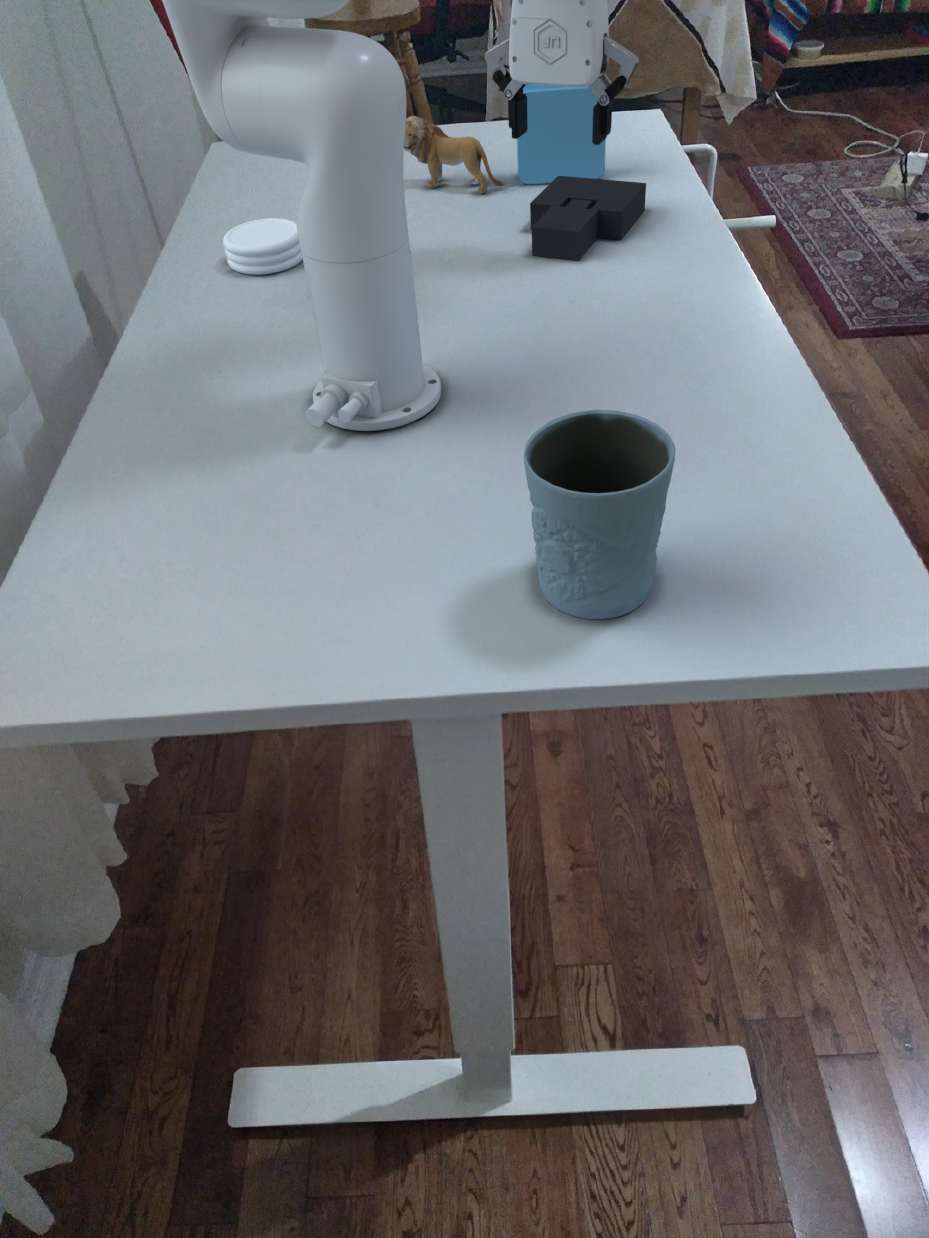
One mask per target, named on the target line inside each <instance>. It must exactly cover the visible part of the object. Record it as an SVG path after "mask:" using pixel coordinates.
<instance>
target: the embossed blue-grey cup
mask: <svg viewBox="0 0 929 1238" xmlns="http://www.w3.org/2000/svg"><path fill="white" fill-rule="evenodd" d="M675 460H676V445H675V442H674V441H673V438H672V437H671V436H670V435H669V433H668V432H667V431H666V429H664V428H662V427H661V426H660V425H659V424H657V423H656V422H653V421H652V420H650V419H648V418H646V417H643V416H640V415H637V414H635V413H630V412H625V411H621V410H613V409H612V410H611V409H608V410H607V409H592V410H582V411H576V412H571V413H568V414H565V415H561V416H559V417H556V418H554V419H552V420H549V421H548V422H547V423H546V424H544V425H543V426H541V427H539V428H538V429H536V430H535V431H534V432H533V433H532V434H531V436H529V438H528V439H527V441H526V443H525V446H524V450H523V464H524V471H525V476H526V485H527V489H528V492H529V501H530V502H531V505H532V506H533V508H532V510H531V512H530V513H531V514H530V515H531V527H532V530H533V533H532V534H533V541H534V542H535V547H534V549H535V556H536V557H535V558H536V568H537V579H538V584H539V588H540V590H541V592H542V594H543V596H544V598H545V599H546V601H547V602H548V603H550V604H551V606H553V607H554V608H556V609H557V610H559V611H561V612H562V613H564V614H567V615H570V616H572V617H576V618H580V619H584V620H585V619H586V620H607V619H615V618H619V617H621V616H624V615H627V614H629V613H631V612H633V611H634V610H636V609H638V608H639V607H640V606H641V605H642V604H643V603H644V602H646V601H647V599H648V596H649V595H650V593H651V591H652V588H653V585H654V578H655V573H656V568H657V561H658V555H657V548H658V544H659V541H660V536H661V528H662V527H663V526H662V525H663V522H664V521H663V520H664V515H665V513H666V508H667V504H666V503H667V498H668V493H669V488H670V484H671V481H672V476H673V475H672V474H673V471H674V465H675Z"/></svg>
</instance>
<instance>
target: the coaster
mask: <svg viewBox="0 0 929 1238" xmlns="http://www.w3.org/2000/svg"><path fill="white" fill-rule="evenodd" d="M222 245H223V248H224V254H225V256H226V262H227V265H228V266H229V267H230V269H232V270H233V271H235V272H236V273H237V272H238V273H240V274H245V275H253V276H259V275H261V276H262V275H263V276H264V275H270V274H276V273H281V272H283V271H286V270H289V269H291V268H294V267H296V266H297V265H299V264H300V263H301V262H303V257H302V252H301V248H300V242H299V237H298V230H297V221H294V220H292V219H286V218H277V217H274V218H273V217H269V218H261V219H260V218H259V219H255V220H250V221H246V222H243V223H241V224H238V225H236V226H234V227H233V228H231V229H229V230H228V231H227V232H226V233H225V235H224V236H223V238H222Z"/></svg>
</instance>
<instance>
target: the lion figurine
mask: <svg viewBox="0 0 929 1238" xmlns="http://www.w3.org/2000/svg"><path fill="white" fill-rule="evenodd" d="M404 152H408V153H409V154H410V155H412V156H414V157H415V158H417V161H418V162H419V163H421V164H425V165H427V169H428V171H429V175H430V177H431V181H430V182H428V183H427V187H428V188H429V189H435V188H437V187H438V185H439V182H440V181H442V179H443V165H446V166H451V167H454V166H458V165H461V164H462V163H463V165H464V166H465V168H466V170H467V171H468V173H469V174H470V175H471V176H473V177H474V178H472V179H471V180H470V184H471V185H473V186H474V185H476V186H477V185H479V184H480V186H479V187H478V188H477V193H478V194H480V195H483V194H485V193H486V192H488V183H487V180H486V179H487V178H486V176H485V174H484V173H483V172H482V170H481V165H482V162H483V165H484V168H485V171H486V173H487V175H488V177H489V179H490V181H491V182H492V183H493V184H494V185H495V186H496V187H503V186H504V182H502V181H500V180H499V179H497V178H495V177H494V176H493V173H492V171H491V168H490V165H489V162H488V157H487V154H486V152H485V150H484V147H483V145H482V144H481V142H480V141H479V140H478V139H477V138H475V137H473V136H463V137H453V136H448V134H446V133H445V132H444V130H443V129H442V128H441V127H440V126H438V125H436V124H434V123H431V122H430V121H429V119H426V118H423V117H421V116H417V115H412V116H411V115H410V116H408V117H406V125H405V138H404Z"/></svg>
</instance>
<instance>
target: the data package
mask: <svg viewBox="0 0 929 1238" xmlns="http://www.w3.org/2000/svg"><path fill="white" fill-rule="evenodd" d="M523 94H526V96H527V122H528V129H527V132H526V133H524V134H523V135H522V136H520V137H519V138H518V139H516V156H517V174H518V178H519V180H520V181H521V182H522V183H524V185H525V184H526V185H530V186H531V185H545V184H550V183H551V182H552V181H553V180H554V179H555V178H556V177H557V176H568V177H580V178H592V179H601V177H602V176H603V174H604V173H605V170H606V143H607V142H606V141H607V138H606V139H605V140H604V141H603V142H602V143H600V144H599V145H594V143H592V132H593V108H594V106H595V105H596V104H597V99H596V98H595V96H594V95H593V93H592V92H591V90H590V89H589V87H588V86H586V87H558V86H540V85H526V86H525V88H524V89H523Z"/></svg>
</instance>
